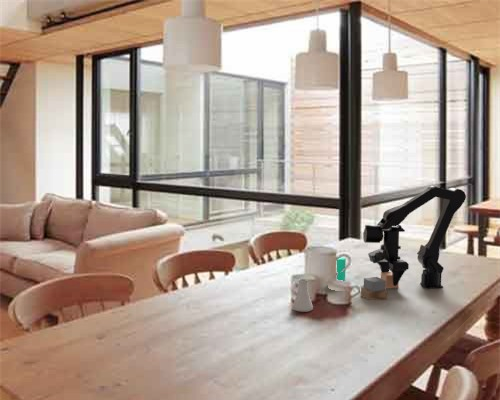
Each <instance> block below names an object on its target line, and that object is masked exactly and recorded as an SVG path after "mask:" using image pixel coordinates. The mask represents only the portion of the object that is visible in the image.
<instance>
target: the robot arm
mask: <svg viewBox="0 0 500 400" xmlns="http://www.w3.org/2000/svg"><path fill="white" fill-rule="evenodd" d="M434 198H439V199H443V200H442V210H441V212H440V215H439V217H438V219H437V221H436V224H435V225H434V228H433V231H432V233H431V235H430V238H429V239H428V242H427V243H426V244H420V248H419V250H418V252H417V253H416V254H417V261H418V263H419V264H420V265H421V266H422V268H423V269H422V273H421V277H420V278H421V280H420V283H419V285H421V286H423V287H425V288H427V289H440V288H443V289H444V286H443V285H442V275H443V271H444V267H443V266H442V264H440V262H439V258H440V251H441V250H440V247H441V246H442V243H443V241H444V238H445V236H446V233H447V231H448V229H449V227H450V224H451V222H452V220H453V217H454V215H455V213H456V212H457V211H458V210H459V209H461V207H462V206H463V204H464V203H465V201H466V200H467V195H466V193H465V191H464V190H463V189H461V188H457V187H449V188H442V187H438V186H435V185H430V186H428V187H427V188H426V189H425V190H423V191H421V192H420V193H418V194H416V195H415V196H413V197H412V198H411V199H408V200H407V201H406V202H404V203H402V204H400V205H397V206H394V207H391V208H389V209H387V210H385V211H384V212H383V215H382V218H381V219H380V221H379V222H378V223H377V225H372V224H365V225H364V229H363V234H362V236H363V237H362V238H363V242H364V243H365V244H366V243H367V244H368V243H369V244H373V243H374V244H377V243H378V244H379V243H381V242H382V241H383V243H382V244H381V245H380V247H379V249H375V250H373V251H371V252H368V253H367V255H368V257H369V261H370V262H372V263H373V264H377V265H378V266H379V268H380V273H381V272H392V276H393V285H394V286H397V284H398V282H400V280H401V278H402V277H403V275H404V274H405V272H406V271H408V270H409V264H410V263H408V262H407V261H406V260H404V259H401V256H400V255H399V250H401V248H402V246H400V245H399V244H400V233H405V230H406V229H404V228H403V227H402V225H401V223H403V221H404V220H406V218H407V217H408V215H410V214H411V213H413V212H414V211H416V210H417V209H419V208H421V207H422V206H423V205H425V204H427V203H429V202H430V201H431V200H433V199H434Z"/></svg>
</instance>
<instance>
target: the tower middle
mask: <svg viewBox="0 0 500 400" xmlns="http://www.w3.org/2000/svg"><path fill="white" fill-rule="evenodd" d="M385 284H386V281H385V280H383V279H381V277H378V276H371V277H363V286H364V288H365V289H367V290H369V291H371V292H374V291H383V290H386V288H385Z"/></svg>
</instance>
